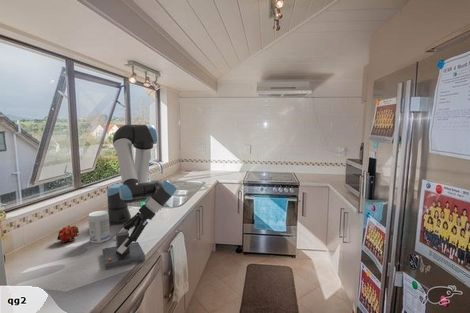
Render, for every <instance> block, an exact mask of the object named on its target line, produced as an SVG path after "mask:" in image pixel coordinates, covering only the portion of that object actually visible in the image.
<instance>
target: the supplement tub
mask: <svg viewBox="0 0 470 313" xmlns="http://www.w3.org/2000/svg"><path fill="white" fill-rule="evenodd" d="M87 218H88V230H89V231H88V232H89V242H91V244H100V243H102V244H103V243H105V242H107V241H109V239H110V238H111V233H110V232H111V231H110V230H111V229H110V224H109V215H108V210H96V211H92V212H90V213H89V214H88V216H87Z"/></svg>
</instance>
